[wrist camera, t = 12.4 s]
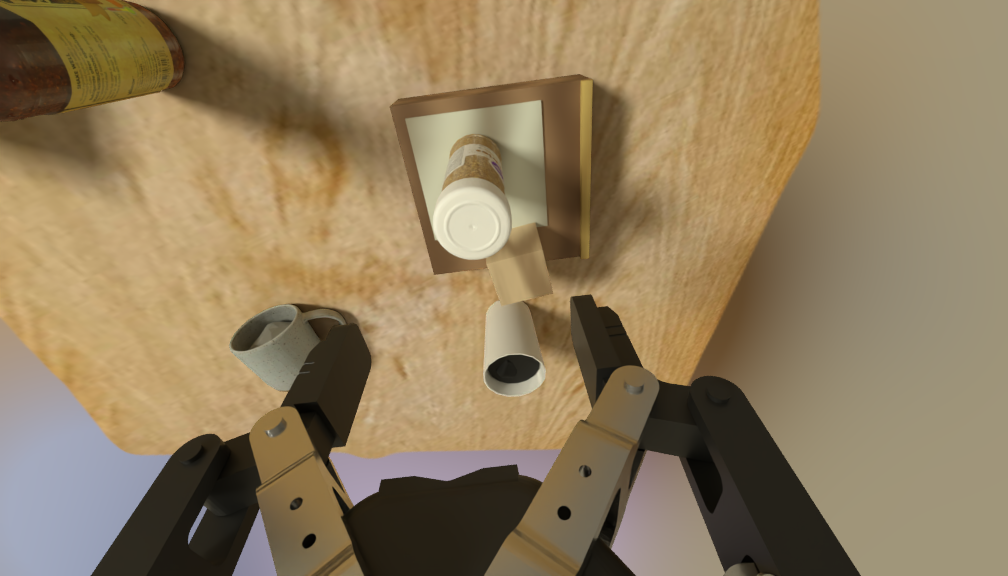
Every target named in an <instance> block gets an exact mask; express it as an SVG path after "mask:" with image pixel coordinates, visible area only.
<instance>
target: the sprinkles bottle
mask: <svg viewBox="0 0 1008 576" xmlns="http://www.w3.org/2000/svg"><path fill="white" fill-rule="evenodd" d="M504 189H505V186H504V179H503V170H502V158H501V154H500V151H499V149H498V147H497V145H496V144H495V143H494V142H493V141H492V140H491V139H490V138H488V137H486V136H483V135H480V134H470V135H466V136H464V137H462V138H460V139H458V140H457V141H456V143H455V144H454V145H453V147H452V149H451V151H450V155H449V162H448V165H447V169H446V174H445V178H444V182H443V186H442V192H441V194H440V195H439V197H438V199H437V202H436V206H435V210H434V215H433V229H434V233H435V235H436V238H437V240H438V241H439V243H440V244H441V245H442V247H443V248H444V249H446V250H447V251H448V252H449V253H451V254H453V255H455V256H457V257H459V258H463V259H468V260H479V259H484V258H487V257H490V256H492V255H494V254H495V253H497V252H498V251H499V250H501V249H502V248H503V246H504V245H505V244H506V242H507V241H508V239H509V236H510V234H511V230H512V217H511V209H510V205H509V202H508V200H507V198H506V196H505V193H504Z"/></svg>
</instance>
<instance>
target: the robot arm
mask: <svg viewBox="0 0 1008 576" xmlns="http://www.w3.org/2000/svg"><path fill="white" fill-rule="evenodd" d="M570 309H571V335H572V341H573V345H574V349H575V352H576V355H577V359H578V362H579V366H580V369H581V372H582V376H583V379H584V383H585V386H586V389H587V393H588V396H589V400H590V403H591V406H592V410H591V412H590V414H589V416H588V417H587V419H586V420H585V421H584V420H580V421H579V422H578V423H577V424H576V426H575V427H574V429H573V431H572V433H571V434H570V436H569V438H568V440H567V441H566V443H565V445H564V447H563V448H562V450H561V452H560V454H559V455H558V457H557V459H556V461H555V462H554V464H553V466H552V468H551V469H550V471H549V473H548V475H547V476H546V478H545V480H544V482H541V481H539V480H536V479H534V478H531V477H528V476H522V475H519V472H518V467H517V465H507V466H499V467H490V468H483V469H480V470H477V471H475V472H472V473H469V474H467V475H464V476H462V477H459V478H456V479H454V480H451V481H441V480H436V479H429V478H423V477H416V476H411V477H402V478H393V479H384V480H381V483H380V487H379V492H377V493H375V494H372V495H370V496H368V497H367V498H365V499H364V500H362V501H360V502H359V503H358V504H356V505H355V506H354V505H353V504H352V502H351V500H350V498H349V496H348V494H347V492H346V490H345V488H344V486H343V484H342V481H341V479H340V477H339V475H338V473H337V471H336V469H335V467H334V465H333V463H332V461H331V459H330V457H329V454H330V451H331V449H332V448H334V447H343V446H345V445H346V442H347V439H348V436H349V433H350V430H351V427H352V424H353V421H354V418H355V415H356V412H357V409H358V406H359V403H360V400H361V397H362V394H363V391H364V387H365V384H366V381H367V378H368V375H369V372H370V369H371V355H370V352H369V350H368V347H367V345H366V343H365V341H364V339H363V336H362V334H361V332H360V330H359V328H358V326H357V325H356V324H354V323H353V324H345V325H337V326H333V327H332V329H331V330H330V332H329V334H328V336H327V338H326V340H325V341H320V342H319V343H318V344H317V345H316V346H315V347H314V348H313V349H312V350H311V351H310V352H309V354H308V356H307V358H306V360H305V362H304V365H303V366H302V367H301V369H300V371H299V375H297V377H296V379H295V380H294V382H293V384H292V386H291V388H290V390H289V392H288V394H287V395H286V397H285V399H284V401H283V403H282V405H281V407H280V408H277V409H274V410H272V411H270V412H268V413H267V414H265V415H264V416H263V417H261V418H260V419H259V420H258V421H257V422H256V423H255V425H254V426H253V428H252V429H251V432H249V433H247V434H244V435H241V436H239V437H236V438H234V439H231V440H228V441H226V442H223V441H222V440H221V439H220V438H219V437H218V436H217V435H215V434H205V435H201V436H198V437H196V438H194V439H192V440H190V441H188V442H187V443H185V444H184V445H183V446H181V447H180V448H179V449H178V450H177V451H176V452H175V453H174V454H173V455H172V456H171V458H170V459H169V460H168V462H167V463H166V465H165V466H164V468H163V469H162V471H161V472H160V474H159V475H158V477H157V478H156V480H155V481H154V483H153V484H152V486H151V487H150V489H149V490H148V492H147V493H146V494H145V496H144V497H143V499H142V501H141V502H140V503H139V505H138V507H137V508H136V509H135V511H134V512H133V514H132V515H131V517H130V518H129V520H128V521H127V523H126V524H125V526H124V527H123V529H122V530H121V532H120V533H119V535H118V536H117V538H116V539H115V541H114V542H113V544H112V545H111V547H110V548H109V549H108V551H107V552H106V554H105V555H104V557H103V559H102V560H101V562H100V563H99V564H98V566H97V567H96V569H95V570H94V572H93V573H92V575H91V576H232V574H233V572H234V569H235V567H236V565H237V562H238V559H239V557H240V555H241V552H242V550H243V548H244V545H245V543H246V540H247V538H248V535H249V533H250V530H251V527H252V526H253V523H254V521H255V518H256V516H257V513H258V511H259V509H260V511H261V515H262V518H263V522H264V526H265V530H266V534H267V538H268V542H269V546H270V549H271V553H272V557H273V561H274V565H275V569H276V573H277V576H636V575H635V574H634V573H633V572H632V571H631V570H630V569H629V568H628V567H627V566H626V565H625V564H624V563H623V562H622V560H621V559H620V558H619V557H618V556H617V555H616V554H615V553H614V552H613V551H612V550H611V548H612V545H613V543H614V540H615V537H616V535H617V532H618V530H619V527H620V524H621V521H622V518H623V515H624V512H625V509H626V505H627V501H628V498H629V496H630V493H631V490H632V488H633V485H634V483H635V480H636V478H637V475H638V472H639V470H640V467H641V465H642V462H643V460H644V457H645V454H646V452H647V450H650V451H654V452H659V453H664V454H669V455H674V456H679V458H680V461H681V463H682V466H683V468H684V470H685V473H686V476H687V478H688V481H689V483H690V486H691V488H692V491H693V493H694V496H695V498H696V501H697V503H698V506H699V508H700V511H701V513H702V516H703V519H704V521H705V524H706V526H707V529H708V531H709V534H710V536H711V539H712V541H713V544H714V546H715V549H716V551H717V554H718V556H719V559H720V561H721V564H722V566H723V569H724V571H725V574H724V576H861V575H860V574H859V572H858V571H857V569H856V568H855V566H854V565H853V563H852V561H851V560H850V558H849V557H848V555H847V554H846V552H845V551H844V549H843V547H842V546H841V544H840V543H839V541H838V540H837V538H836V536H835V535H834V533H833V532H832V530H831V529H830V527H829V525H828V524H827V523H826V521H825V519H824V518H823V516H822V515H821V513H820V512H819V510H818V508H817V507H816V505H815V504H814V502H813V501H812V499H811V498H810V496H809V495H808V493H807V491H806V490H805V488H804V487H803V485H802V484H801V482H800V480H799V479H798V477H797V476H796V474H795V473H794V471H793V470H792V468H791V466H790V465H789V463H788V462H787V460H786V459H785V457H784V455H783V454H782V452H781V451H780V449H779V448H778V446H777V445H776V443H775V442H774V440H773V438H772V437H771V435H770V434H769V432H768V431H767V429H766V427H765V426H764V424H763V423H762V421H761V420H760V418H759V417H758V415H757V414H756V412H755V410H754V409H753V407H752V406H751V404H750V403H749V401H748V399H747V398H746V396H745V395H744V393H743V392H742V391H741V389H740V388H738V387H737V386H736V385H735V384H733V383H732V382H730V381H728V380H726V379H723V378H720V377H715V376H704V377H700V378H698V379H696V380H695V381H693V383H692V384H691V386H684V385H677V384H670V383H666V382H662V381H660V380H658V379H657V378H656V377H655V376H654V375H653V374H652V373H651V372H650V371H648V370H646V369H644V368H643V366H642V364H641V362H640V360H639V358H638V356H637V354H636V352H635V350H634V348H633V345H632V343H631V341H630V339H629V337H628V335H627V333H626V331H625V329H624V327H623V325H622V323H621V321H620V318H619V316H618V314H616V313H615V312H614V311H613V310H611V309H610V308H609V307H608V306H606V307H597V306H596V304H595V301H594V299H593V297H592V295H591V294H590V295H582V296H574V297H571V299H570ZM203 505H204V506H205V507H206V508H207V510H206V512H205V514H204V516H203V518H202V520H201V522H200V524H199V526H198V528H197V530H196V532H195V533H194V535H193V537H192V539H191V541H190V543H189V545H188V535H189V532H190V530H191V527H192V526H193V524H194V522H195V520H196V518H197V516H198V515H199V513H200V511H201V509H202V507H203Z"/></svg>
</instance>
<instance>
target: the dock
mask: <svg viewBox="0 0 1008 576" xmlns="http://www.w3.org/2000/svg"><path fill="white" fill-rule="evenodd" d="M592 86H593V80H592V79H589V78H587V77H585V76H582V75H580V74H578V75H571V76H564V77H556V78H549V79H542V80H534V81H527V82H520V83H512V84H505V85H498V86H490V87H483V88H476V89H468V90H461V91H454V92H446V93H439V94H432V95H424V96H417V97H410V98H403V99H398V100H397V101H396V102H395V103H393V104H392V105H391V106H390V110H391V113H392V117H393V121H394V125H395V128H396V132H397V136H398V140H399V143H400V147H401V151H402V155H403V159H404V162H405V166H406V170H407V174H408V177H409V181H410V185H411V189H412V193H413V196H414V200H415V204H416V208H417V211H418V215H419V219H420V223H421V227H422V230H423V234H424V238H425V242H426V245H427V249H428V253H429V257H430V261H431V264H432V268H433V272H434V275H436V274H444V273H452V272H460V271H468V270H476V269H484V268H487V265H486V258H484V259H479V260H468V259H463V258H459V257H457V256H455V255H453V254H451V253H449V252H448V251H447V250H446V249H444V248H443V247H442V245H441V244H440V243H439V241H438V240H437V238H436V235H435V233H434V229H433V215H434V210H435V206H436V202H437V199H438V197H439V195H440V194H441V192H442V186H443V182H444V178H445V174H446V169H447V165H448V162H449V155H450V151H451V149H452V147H453V145H454V144H455V143H456V141H457V140H458V139H460V138H462V137H464V136H466V135H470V134H480V135H483V136H486V137H488V138H490V139H491V140H492V141H493V142H494V143H495V144H496V145H497V147H498V149H499V151H500V154H501V158H502V170H503V179H504V186H505V189H504V193H505V196H506V198H507V200H508V202H509V205H510V209H511V217H512V228H515V227H519V226H522V225H526V224H530V223H534V222H535V223H536V227H537V231H538V234H539V238H540V242H541V246H542V249H543V253H544V258H545V261H547V260H555V259H563V258H571V257H578V256H580V258H581V259H587V258H589V239H590V188H591V137H592Z"/></svg>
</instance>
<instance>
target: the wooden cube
mask: <svg viewBox="0 0 1008 576" xmlns="http://www.w3.org/2000/svg"><path fill="white" fill-rule="evenodd" d="M486 265H487V268H488V270H489V273H490V276H491V279H492V281H493V284H494V287H495V290H496V292H497V295H498V298H499V301H500V303H501V306H504V305H508V304H512V303H516V302H520V301H524V300H528V299H533V298H537V297H541V296H545V295H549V294H553V291H552V287H551V283H550V278H549V274H548V270H547V266H546V262H545V258H544V253H543V249H542V246H541V242H540V238H539V234H538V231H537V227H536V223H535V222H534V223H530V224H526V225H522V226H519V227H515V228H512V230H511V234H510V236H509V239H508V241H507V242H506V244H505V245H504V246H503V248H502V249H501V250H499V251H498V252H497V253H495V254H494V255H492V256H490V257H487V258H486Z"/></svg>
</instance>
